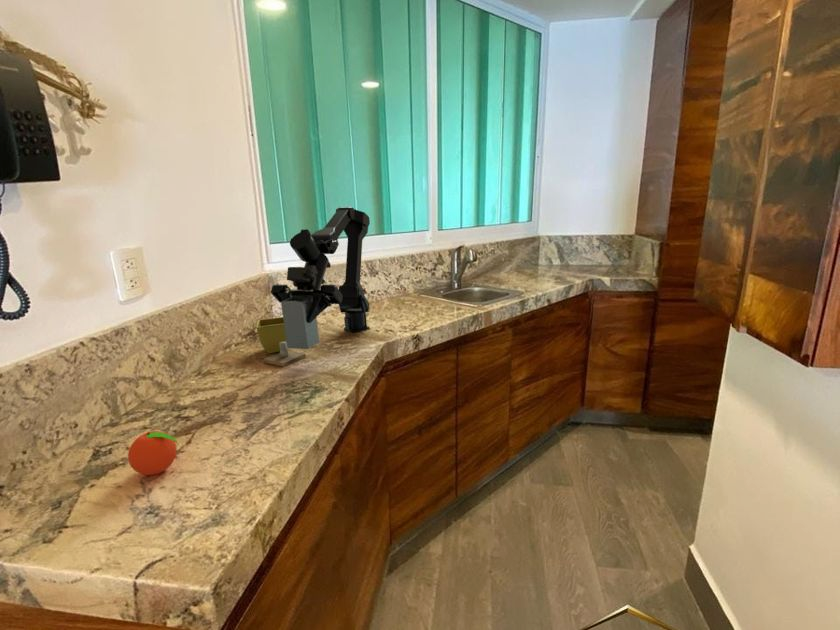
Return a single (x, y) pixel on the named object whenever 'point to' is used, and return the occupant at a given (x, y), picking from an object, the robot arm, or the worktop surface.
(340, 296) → the robot arm
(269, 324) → the flower pot
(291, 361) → the tan piece
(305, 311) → the open square box
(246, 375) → the worktop surface
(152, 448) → the clementine
